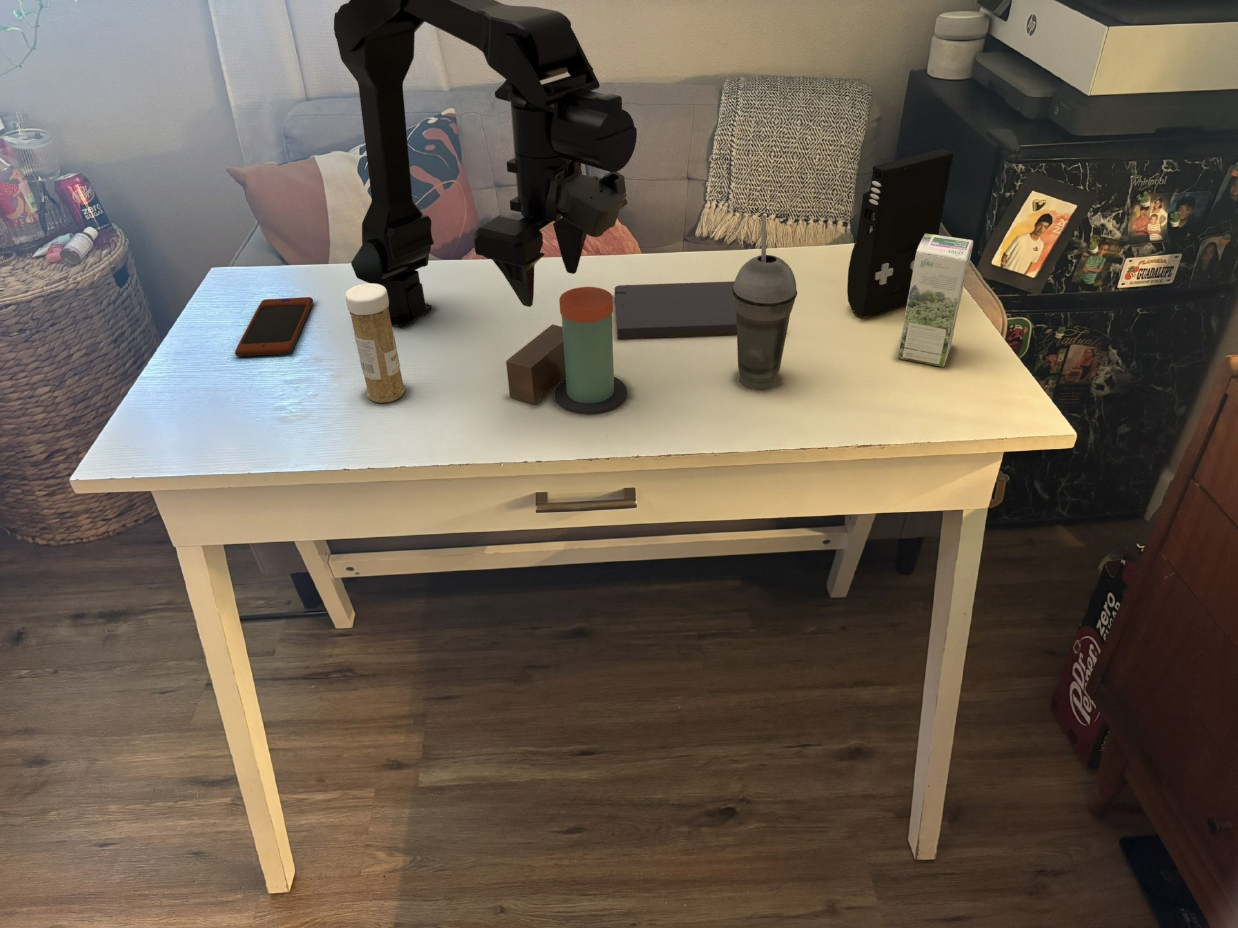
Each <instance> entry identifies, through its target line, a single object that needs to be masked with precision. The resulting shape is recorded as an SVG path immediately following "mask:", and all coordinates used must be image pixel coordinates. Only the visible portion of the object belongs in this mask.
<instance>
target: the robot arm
mask: <svg viewBox="0 0 1238 928" xmlns="http://www.w3.org/2000/svg"><path fill="white" fill-rule="evenodd" d="M424 23H426V24H428V25H431V26H433V27H435V28H437V29H438V30H441V31H443V32H444V33H447V34H449V35H451V36H453V37H454V38H457V39H459V40H460V41H463V42H465V43H467V44H469V45H470V46H472V47H474V48H476V49H478V50H479V51H480V52H482V54H483V56H484V58H485V61H486V63H487V65H488V66H489V68H491V69H492V70H493V71H494V72H496V73H497V74H499V76H501V77H502V78H503V79H505V80H504V82H503V83H502V84H501V85H500V86H499V87H498V88H497V89H496V90H495V91H494V97H495V98H496V99H497V100H502V101H505V102H509V103H510V113H511V126H512V141H513V151H514V152H513V154H514V157H513V158H510V160H508V161H506V172H507V173H513V174H515V180H516V194H517V196H515V197H514V198H512V199H510V200H509V207H510V208H509V209H510V211H513V212H518V213H520V215H521V217H522V218H521V219H515V218H510V217H506V216H500V215H497V216H496V217H495V218H493V219H491V220H490V221H488V222H486V223H484V224H483V225H481V226H480V227H478V229H476V230H475V232H474V233H473V234H472V236H473V246H474V253H475V255H476V256H481V257H484V258H485V259H489V260H492V262H493V263H494V264H495V265H496V267H497V268H498V269H499V271H500V272H501V273H502V275H503V276H504V278H505V279H506V281H507V282H508V284H509V285H510V287H511V289H512V290H513V292H514V293H515V295H516V297H517V298H518V300H519V302H520V303H521V305H522V306H523V307H527V308H531V307H532V306H533V304H534V295H535V265H536V264H537V263H538V262H539V261H540V260H541V259H542V258H543V257H544V256H545V253H544V252H541V251H542V248H543V246H544V236H543V233H542V232H543V231H544V230H547V229H548V228H549V227H551V226H553V230H554V234H555V237H556V241H557V244H558V248H559V252H560V255H561V259H562V263H563V265H564V268H565V271H566V272H567V273H568V274H570V275H571V274H572V275H575V274H576V273H577V271H578V268H579V265H580V260H581V257H582V253H583V249H584V245H585V242H586V238H587V236H589V237H591V238H599V237H601V236H603V235H604V233H605V232H606V231H608V230H609V229H612V228H614V227H615V225H616V223H617V220H618V217H619V215H620V212H621V210H623V208H625V207H627V205H628V200H627V196H628V195H627V190H626V181H625V180H626V179H625V176H624V175H623V174H621V173H619V171H621V170H622V169H624V167H626V165H627V164H628V163H629V161H630V160H631V158H632V156H633V154H634V152H635V149H636V145H637V137H638V129H637V127H635V122H634V119H633V117H632V114H630V113H629V112H628V111H627V110H625V109H623V98H622V96H621V95H619V94H614V93H606V94H605V93H601V92H596V90H598V89H599V88H600V81H599V80H598V78H597V76H596V73H595V72H594V68H593V66H592V65H591V63H590V61H589V59H588V57H587V56H586V54H585V51H584V50H583V48H582V46H581V44H580V42H579V39H578V38H577V35H576V33H575V32H574V30H573V28H572V22H571V20H570V19H569V18H568V17H567V16H566V15H565V14H563V13H562V12H560V11H558V10H553V9H549V8H543V7H538V6H528V5H527V6H525V5H510V4H506V3H501V2H500V1H498V0H349V1H348V2H346V3H343V4H341V5H340V7H339V8H338V10H337V11H335V12H334V17H333V33H334V36H335V37H334V38H335V40H336V43H337V47H338V51H339V56H340V60H341V62H342V63H343V64H344V66H345V67H346V69H347V70H348V72H349V73H350V74H351V75H352V77H353V78H354V79H355V81H356V82H357V85H358V86H357V87H358V94H359V103H360V111H361V118H362V127H363V135H364V145H365V152H366V153H365V154H366V162H367V170H368V178H369V179H368V180H369V186H370V187H369V189H370V197H371V202H370V204H369V207H368V208H367V210H366V213H365V215H364V217H363V220H362V222H361V246H360V248H359V249H358V251H357V252H356V254H355V256H353V259H352V260H351V262H350V264H351V265H350V266H351V267H352V270H353V272H354V275H355V277H356V279H358V280H361V281H363V282H364V283H366V284H368V283H373V284H379V285H382V286H384V287H385V288H386V290H387V294H388V299H389V305H388V306H389V307H388V309H389V315H390V320H391V325H392V326H396V327H398V328H406V327H407V326H409V325H410V324H411V323H413V322H414V321H416V320H417V319H419V318H420V317H422V316H423V315H425V314H427V313H428V312H429V311H431V310H433V306H432V304H430V303H426V300H425V294H424V293H425V292H424V287H423V283H422V282H421V280H420V274H419V273H420V272H419V269H421V268H423V267H424V268H425V267H427V266H428V265H429V258H430V253H431V249H432V245H435V242H434V239H433V234H432V219H431V217H430V216H429V215H426V214H423V212H422V211H421V209H420V208H419V207H418V206H417V204H416V203H415V202H414V198H413V187H412V177H411V167H410V166H411V165H410V154H409V141H408V132H407V119H406V109H405V98H404V97H405V96H404V81H405V79H406V77H407V75H408V73H409V71H410V68H411V65H412V63H413V61H414V59H415V58H414V57H415V39H416V37H415V36H416V32H417V31H418V30H419V29H420V28H421V26H423V25H424ZM566 73H568V76H564V77H561V78H557V79H555V80H552V81H549V82H546V83H541V81H544V80H548V79H551V78H555V77H557V76H561V75H564V74H566ZM582 165H586V166H589V167H592V168H595V169H599V170H602V171H606V172H608V173H606V174H605V175H604V176H603V177H599V176H597V175H594V176H592V175H587V174H584V173H583V170H582Z"/></svg>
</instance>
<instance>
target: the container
mask: <svg viewBox="0 0 1238 928" xmlns="http://www.w3.org/2000/svg"><path fill="white" fill-rule="evenodd" d="M558 299H559V301H558V303H559V313H560V315H561V327H563V343H564V358H565V373H566V377H565V379H566V389H567V395H568V396H569V397H570V398H571V399H572V400H574V401H576V402H580V403H586V404H592V403H599V402H602V401H605V400H607V399H609V398H610V397H611V396H612V395H613V393H614V377H615V372H614V371H615V368H614V367H615V366H614V337H613V335H614V334H613V312H614V296H613V295H612V293H611V292H609V291H608V290H607V289H605V288H602V287H598V286H597V287H596V286H580V287H575V288H571V289H568V290H566V291H564V292H563V293H562V294H561V295H560V296H559V298H558Z"/></svg>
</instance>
